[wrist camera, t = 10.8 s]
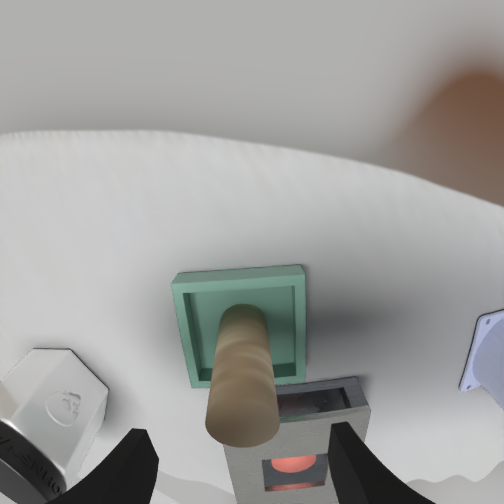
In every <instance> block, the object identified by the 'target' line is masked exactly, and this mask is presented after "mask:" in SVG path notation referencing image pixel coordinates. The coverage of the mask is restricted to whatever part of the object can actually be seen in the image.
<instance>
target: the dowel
mask: <svg viewBox="0 0 504 504" xmlns="http://www.w3.org/2000/svg"><path fill="white" fill-rule="evenodd" d="M205 425H206V429H207V431H208V433H209V434H210V435H211V436H212V437H213V438H214V439H215V440H217V441H218V442H220V443H222V444H225V445H228V446H232V447H238V448H248V447H255V446H258V445H261V444H264V443H266V442H268V441H269V440H271V439H272V438H273V437H274V436H275V435H276V434H277V432H278V430H279V427H280V419H279V411H278V404H277V396H276V389H275V381H274V374H273V366H272V359H271V351H270V344H269V336H268V329H267V322H266V318H265V316H264V314H263V313H262V311H261V310H260V309H258V308H257V307H255V306H253V305H250V304H237V305H234V306H231V307H230V308H228V309H227V310H226V311H225V312H224V313H223V315H222V317H221V319H220V325H219V332H218V338H217V345H216V351H215V358H214V365H213V371H212V378H211V385H210V392H209V399H208V406H207V413H206V421H205Z"/></svg>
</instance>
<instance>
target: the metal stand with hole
mask: <svg viewBox="0 0 504 504" xmlns="http://www.w3.org/2000/svg"><path fill="white" fill-rule="evenodd" d="M275 389H276V396H277V404H278V411H279V419H280V427H279V430H278V432H277V434H276V435H275V436H274V437H273V438H272V439H271V440H269V441H268V442H266V443H264V444H261V445H258V446H255V447H248V448H238V447H232V446H228V445H225V444H223V447H224V451H225V455H226V460H227V464H228V468H229V472H230V476H231V481H232V485H233V489H234V492H235V496H236V500H237V504H332V503H337V502H339V501H338V498H337V495H336V491H335V488H334V485H333V481H332V478H331V474H330V468H329V462H328V456H327V453H328V446H329V438H330V430H331V424H333V423H339V422H345V421H347V422H349V424H350V425H351V426H352V428H353V429H354V431H355V432H356V433H357V435H358V436H359V437H360V439H361V440H362V441H363V442H364V441H365V436H366V432H367V428H368V423H369V419H370V414H371V409H370V407H369V404H368V402H367V400H366V398H365V396H364V393H363V391H362V389H361V387H360V385H359V383H358V380H357V378H356V377H350V378H344V379H337V380H329V381H322V382H314V383H305V384H295V385H285V386H275ZM309 455H316V461H315V463H314V464H313V465H312V466H311V467H309V468H307V469H305V470H303V471H299V472H294V473H286V472H281V471H278V470H276V469H275V468H274V467H273V466H272V462H271V459H281V458H292V457H301V456H309Z"/></svg>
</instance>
